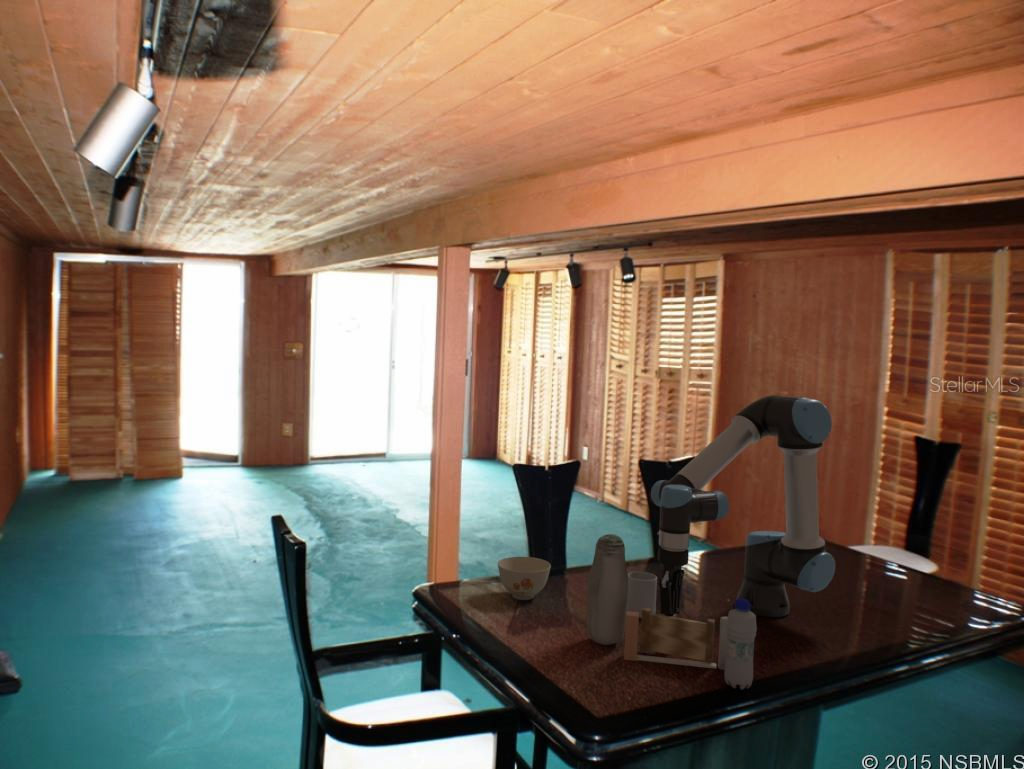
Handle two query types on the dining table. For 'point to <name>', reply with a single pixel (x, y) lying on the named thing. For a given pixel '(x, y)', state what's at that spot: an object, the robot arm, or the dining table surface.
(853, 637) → the dining table surface
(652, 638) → the gate
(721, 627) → the fence
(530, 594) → the bowl
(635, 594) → the mug
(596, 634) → the white tapered flask
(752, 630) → the bottle
